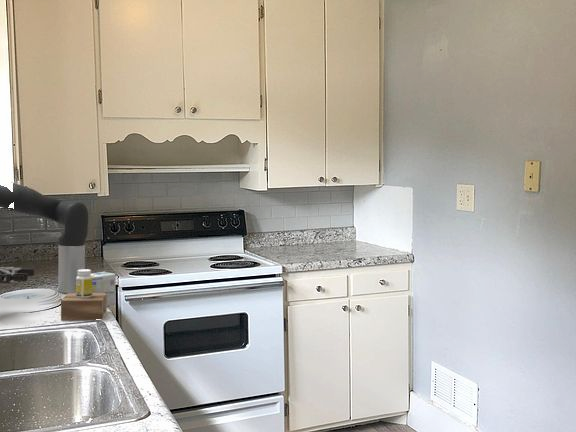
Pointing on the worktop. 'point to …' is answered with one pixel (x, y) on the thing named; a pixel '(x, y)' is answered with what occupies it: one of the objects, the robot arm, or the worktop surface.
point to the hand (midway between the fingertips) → (30, 274)
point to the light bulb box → (104, 285)
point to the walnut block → (83, 307)
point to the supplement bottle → (84, 284)
